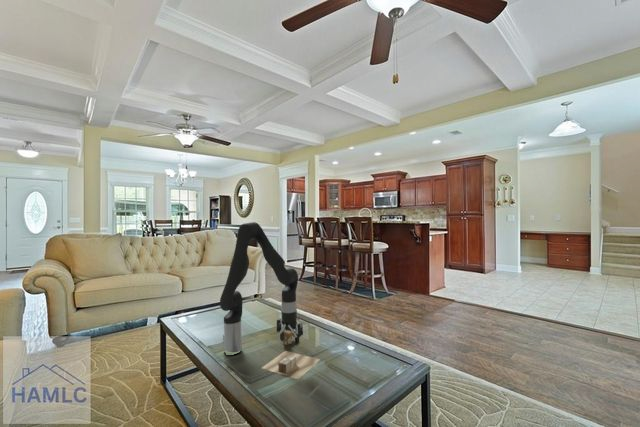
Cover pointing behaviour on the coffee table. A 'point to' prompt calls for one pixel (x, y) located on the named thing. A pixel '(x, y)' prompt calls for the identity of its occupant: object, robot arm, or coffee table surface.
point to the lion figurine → (288, 336)
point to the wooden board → (298, 370)
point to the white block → (287, 364)
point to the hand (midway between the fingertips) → (289, 342)
